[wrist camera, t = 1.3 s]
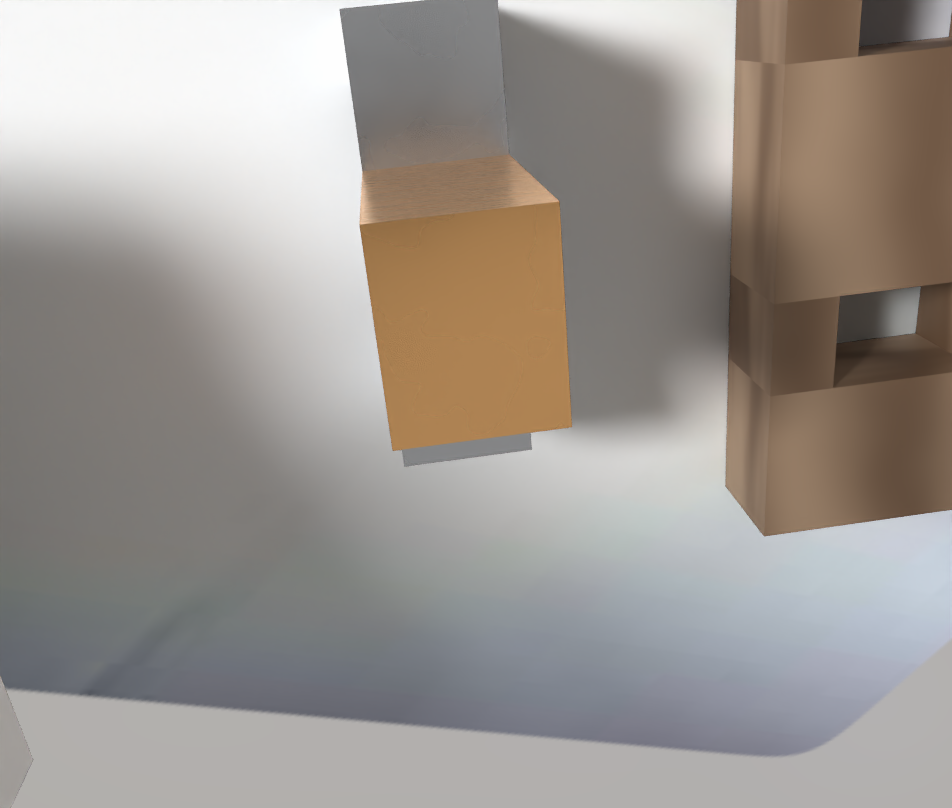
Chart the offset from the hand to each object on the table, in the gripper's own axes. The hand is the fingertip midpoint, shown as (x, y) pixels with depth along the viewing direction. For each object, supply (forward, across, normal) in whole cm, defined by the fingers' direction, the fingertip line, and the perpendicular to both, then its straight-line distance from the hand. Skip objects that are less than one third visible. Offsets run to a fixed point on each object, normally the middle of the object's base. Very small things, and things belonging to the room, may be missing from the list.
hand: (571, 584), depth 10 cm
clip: (+23, 0, 0) cm, 23 cm away
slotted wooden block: (+23, +16, 0) cm, 28 cm away
